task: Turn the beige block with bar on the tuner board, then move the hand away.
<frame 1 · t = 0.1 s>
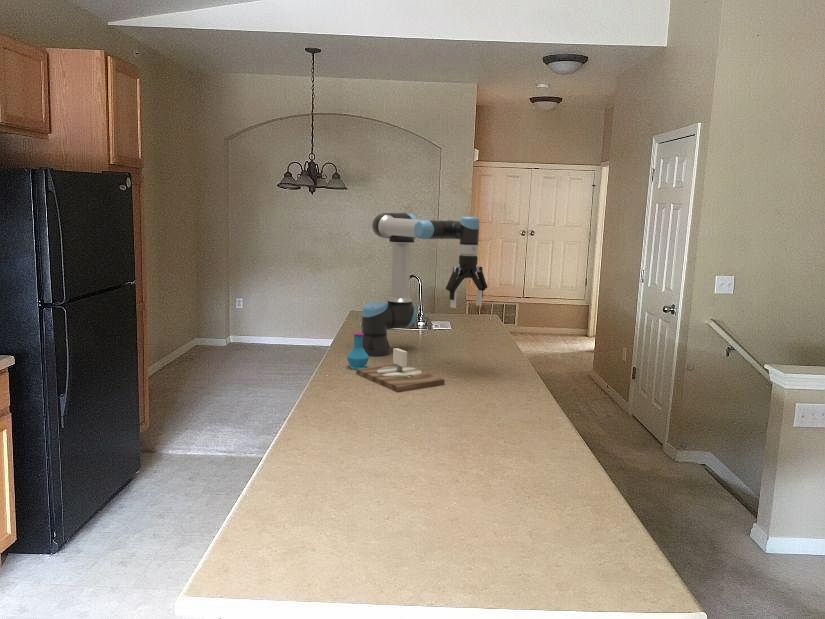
hand: (466, 306, 271), 28 cm above the worktop, fingers open, 13 cm apart
tuner board: (399, 379, 262), on the worktop
beige block with bar: (391, 361, 263), point 7 cm above the worktop, hinge at 0.0°
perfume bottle: (357, 367, 279), on the worktop
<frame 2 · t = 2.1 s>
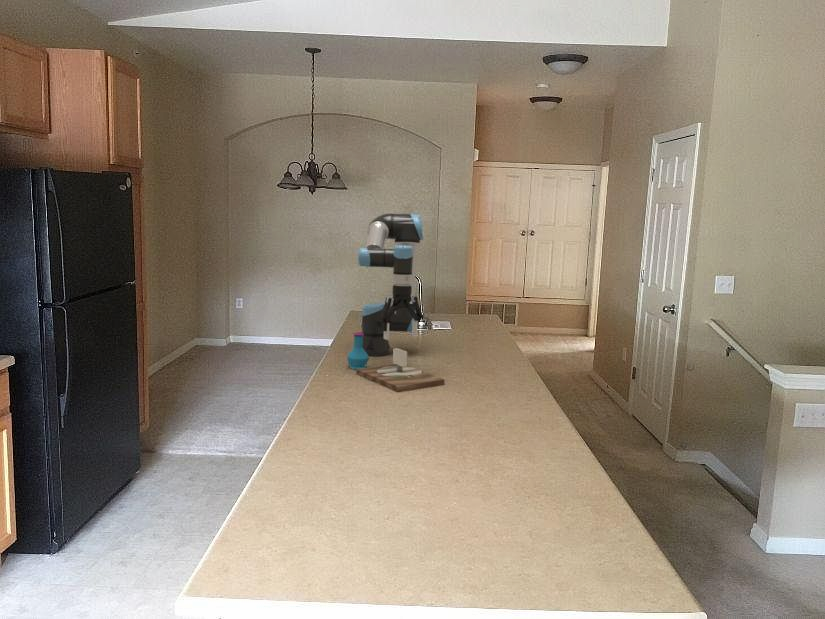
hand: (400, 337, 263), 16 cm above the worktop, fingers open, 13 cm apart
nothing on the worktop moved.
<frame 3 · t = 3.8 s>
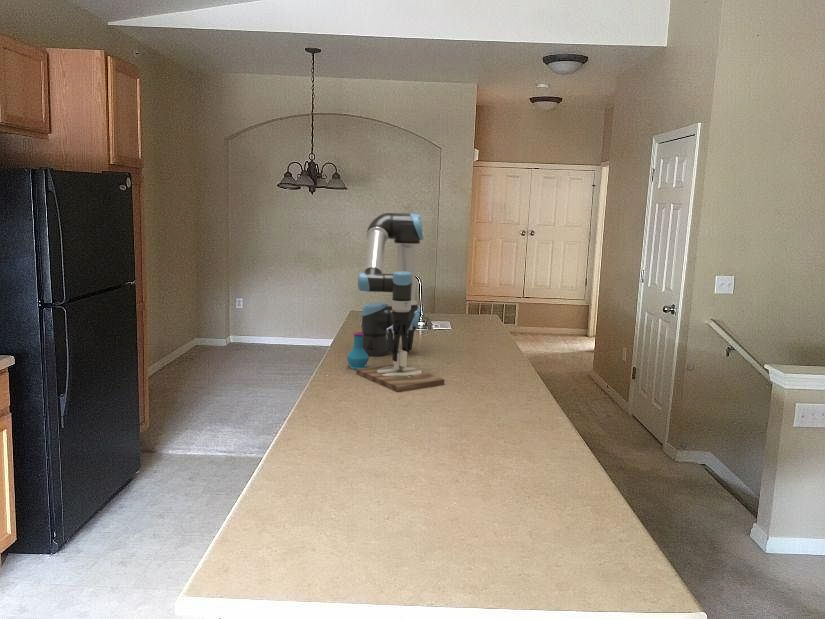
hand: (399, 368, 265), 4 cm above the worktop, fingers closed on beige block with bar, 2 cm apart
beige block with bar: (391, 361, 263), point 7 cm above the worktop, hinge at 0.0°, touching gripper
everything else where it was.
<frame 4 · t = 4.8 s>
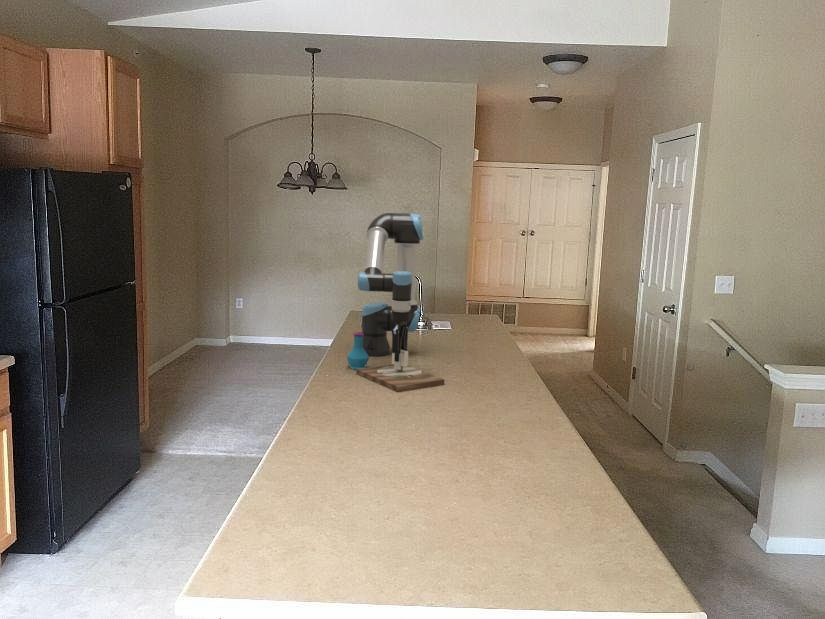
hand: (399, 367, 266), 4 cm above the worktop, fingers closed on beige block with bar, 3 cm apart
beige block with bar: (392, 362, 262), point 7 cm above the worktop, hinge at 12.1°, touching gripper
everything else where it was.
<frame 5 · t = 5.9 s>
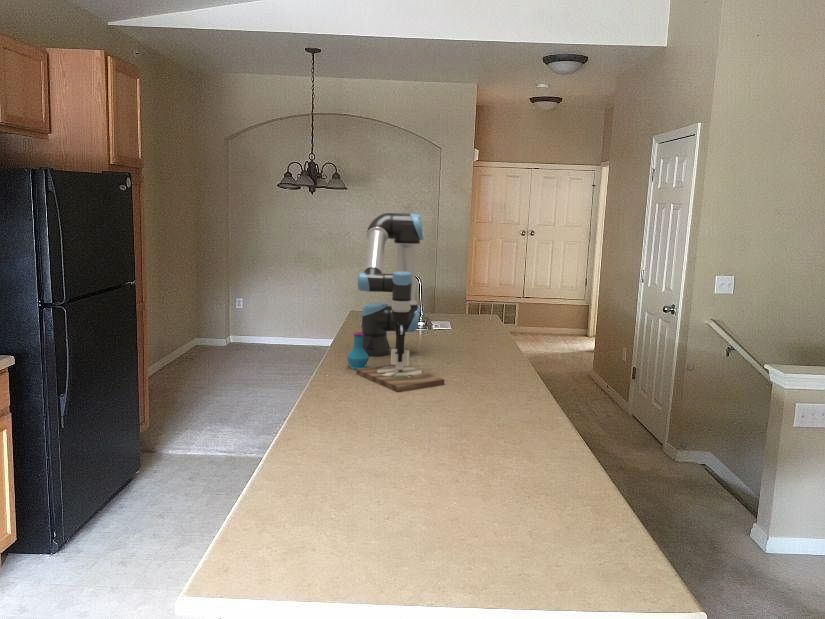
hand: (399, 368, 265), 4 cm above the worktop, fingers closed on beige block with bar, 3 cm apart
beige block with bar: (396, 362, 261), point 7 cm above the worktop, hinge at 35.8°, touching gripper
everything else where it was.
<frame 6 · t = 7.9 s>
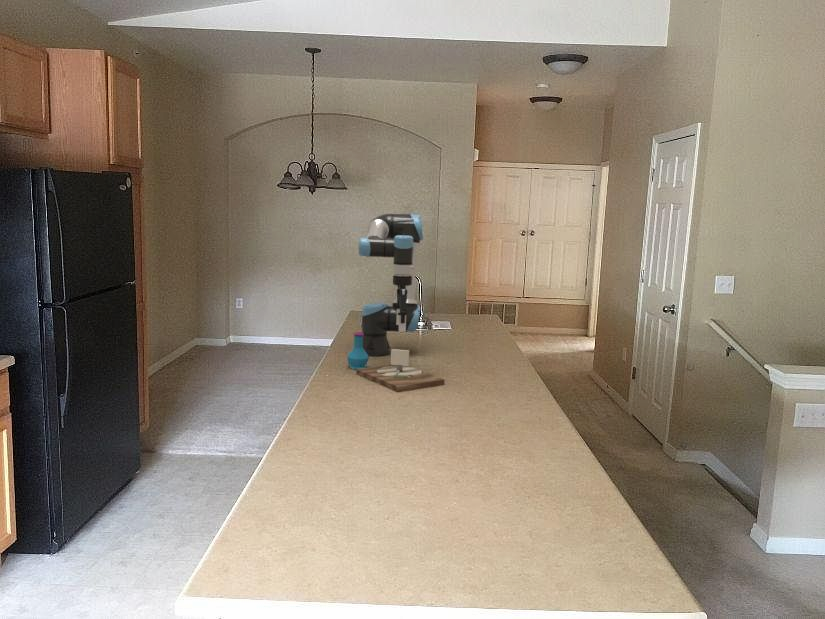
hand: (400, 328, 263), 20 cm above the worktop, fingers open, 13 cm apart
beige block with bar: (397, 363, 261), point 7 cm above the worktop, hinge at 43.7°
everything else where it was.
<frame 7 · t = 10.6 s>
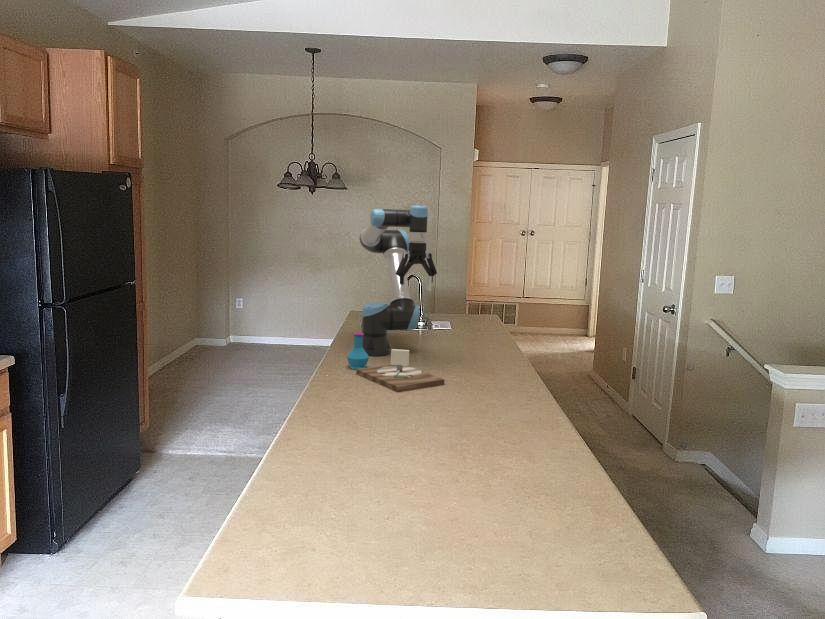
hand: (416, 291, 286), 32 cm above the worktop, fingers open, 13 cm apart
beige block with bar: (397, 363, 261), point 7 cm above the worktop, hinge at 45.4°
everything else where it was.
at the end: beige block with bar at +45° (first picture: +0°); the gripper is holding nothing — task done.
